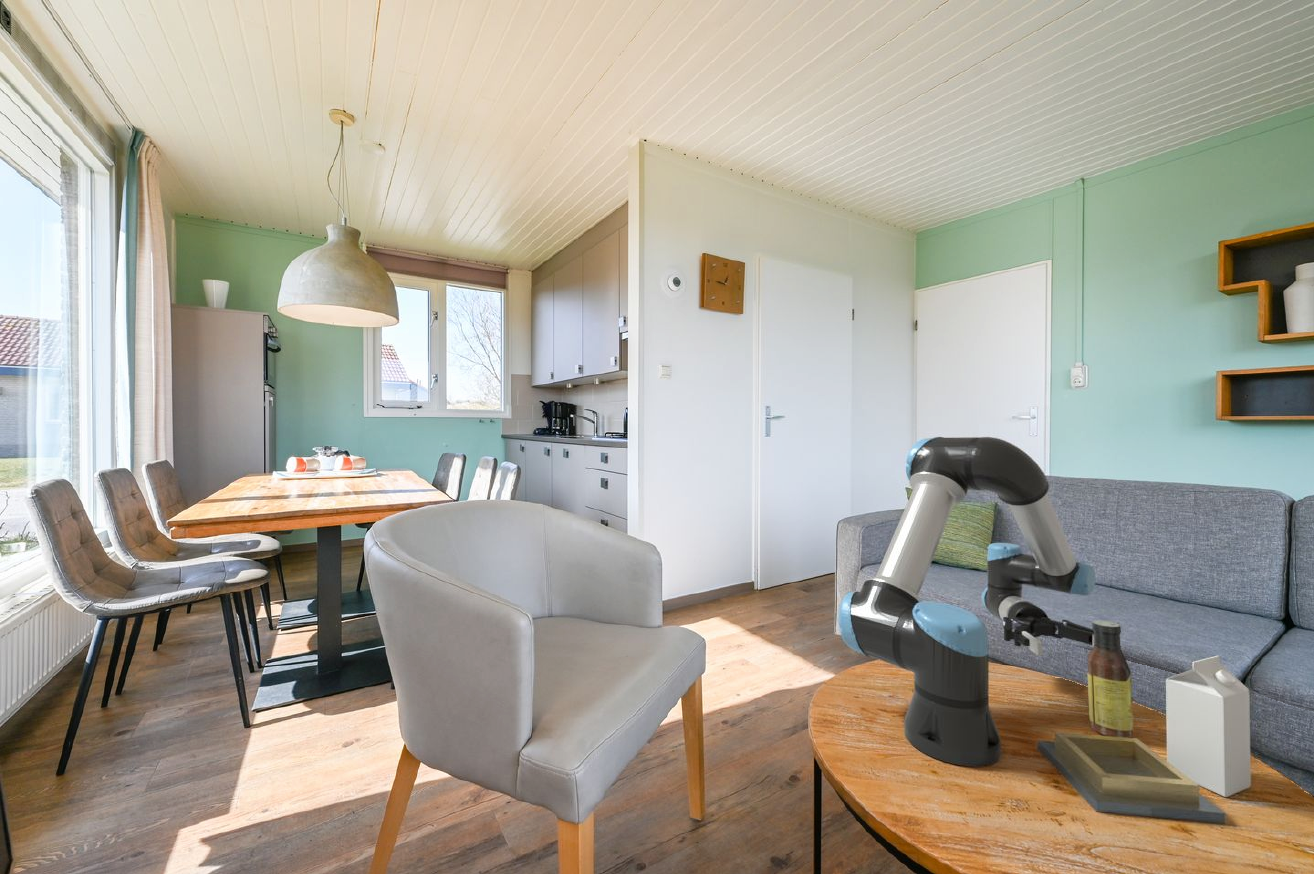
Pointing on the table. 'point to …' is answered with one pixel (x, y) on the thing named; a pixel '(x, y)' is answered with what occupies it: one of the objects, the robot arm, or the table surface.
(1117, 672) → the sauce bottle
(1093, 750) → the plate
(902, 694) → the table surface
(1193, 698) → the milk carton
